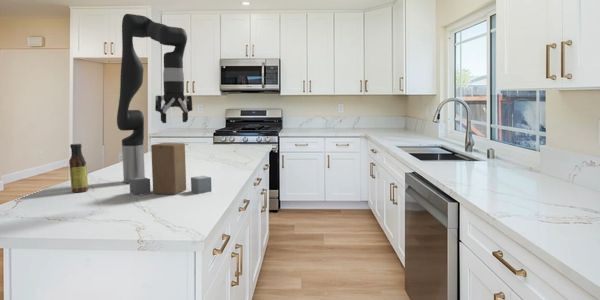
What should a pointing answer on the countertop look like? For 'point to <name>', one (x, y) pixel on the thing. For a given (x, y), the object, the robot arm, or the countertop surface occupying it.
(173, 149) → the wooden block
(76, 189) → the sauce bottle
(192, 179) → the slate marked block
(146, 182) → the charcoal marked block
